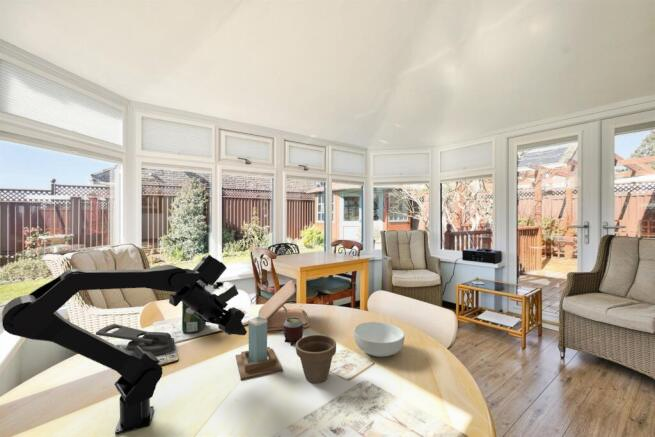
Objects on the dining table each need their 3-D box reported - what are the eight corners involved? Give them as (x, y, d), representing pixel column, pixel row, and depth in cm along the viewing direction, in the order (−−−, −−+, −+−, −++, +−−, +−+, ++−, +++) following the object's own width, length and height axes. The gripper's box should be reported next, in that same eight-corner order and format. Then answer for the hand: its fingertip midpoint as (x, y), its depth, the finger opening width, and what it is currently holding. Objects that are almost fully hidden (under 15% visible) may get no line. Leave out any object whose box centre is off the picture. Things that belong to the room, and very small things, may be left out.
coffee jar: (188, 324, 123) (187, 280, 122) (208, 323, 123) (207, 279, 123) (178, 334, 113) (177, 286, 112) (199, 333, 114) (199, 285, 113)
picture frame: (282, 370, 87) (282, 362, 87) (240, 380, 83) (240, 371, 83) (272, 350, 100) (272, 342, 100) (235, 357, 96) (235, 349, 96)
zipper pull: (113, 322, 108) (178, 325, 105) (114, 340, 108) (178, 343, 106) (91, 332, 99) (161, 335, 97) (92, 352, 99) (162, 355, 97)
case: (259, 314, 135) (258, 280, 134) (304, 311, 138) (304, 277, 138) (256, 333, 114) (256, 293, 114) (310, 329, 118) (310, 290, 118)
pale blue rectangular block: (256, 366, 89) (256, 323, 88) (248, 361, 91) (248, 320, 91) (267, 360, 92) (267, 319, 91) (259, 356, 94) (259, 316, 94)
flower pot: (299, 392, 77) (299, 354, 77) (293, 369, 88) (292, 336, 88) (341, 385, 80) (341, 349, 80) (329, 364, 91) (329, 332, 91)
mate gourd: (304, 337, 110) (304, 298, 109) (300, 347, 102) (300, 305, 101) (284, 337, 110) (284, 297, 110) (279, 346, 103) (279, 304, 102)
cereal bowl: (381, 370, 88) (381, 347, 87) (343, 350, 100) (343, 329, 100) (414, 352, 98) (414, 332, 98) (376, 336, 111) (376, 317, 111)
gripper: (238, 280, 75) (272, 312, 84) (204, 270, 88) (237, 299, 96) (208, 319, 69) (248, 349, 78) (176, 302, 82) (214, 329, 90)
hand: (236, 329), depth 86 cm, fingers open, 9 cm apart
